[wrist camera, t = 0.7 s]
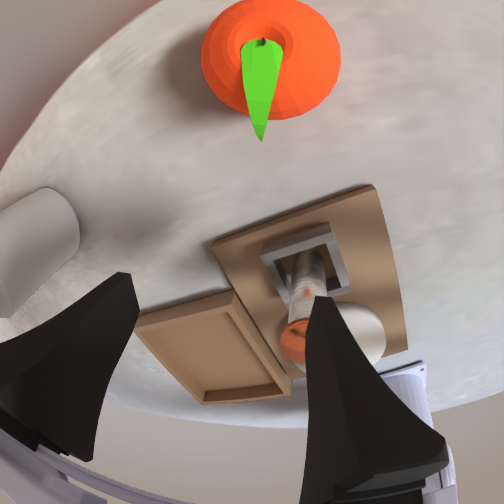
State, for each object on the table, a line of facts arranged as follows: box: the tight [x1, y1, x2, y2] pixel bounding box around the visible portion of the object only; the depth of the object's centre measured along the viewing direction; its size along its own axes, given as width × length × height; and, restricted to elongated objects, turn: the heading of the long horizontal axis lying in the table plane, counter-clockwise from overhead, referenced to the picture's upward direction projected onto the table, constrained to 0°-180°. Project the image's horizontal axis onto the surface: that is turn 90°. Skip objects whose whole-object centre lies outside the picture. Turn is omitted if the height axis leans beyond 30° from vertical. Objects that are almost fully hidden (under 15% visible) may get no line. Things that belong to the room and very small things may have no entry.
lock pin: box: [280, 249, 327, 364], centre depth 17 cm, size 3×3×8 cm
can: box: [0, 188, 80, 318], centre depth 18 cm, size 8×8×12 cm
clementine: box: [200, 0, 341, 142], centre depth 12 cm, size 8×7×7 cm
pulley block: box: [211, 185, 408, 379], centre depth 21 cm, size 16×12×3 cm
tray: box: [133, 289, 293, 405], centre depth 27 cm, size 13×11×2 cm
